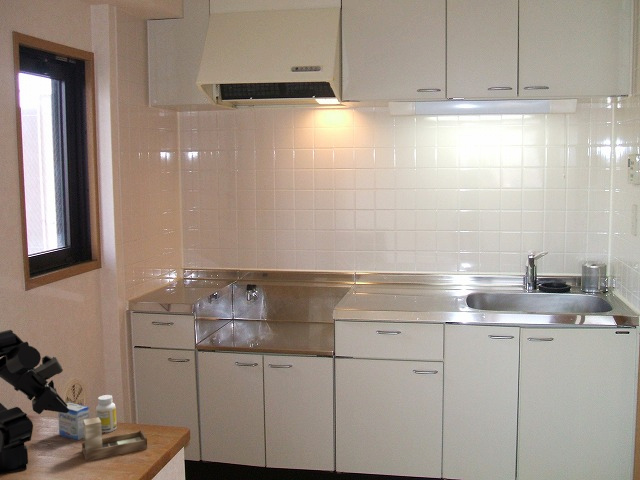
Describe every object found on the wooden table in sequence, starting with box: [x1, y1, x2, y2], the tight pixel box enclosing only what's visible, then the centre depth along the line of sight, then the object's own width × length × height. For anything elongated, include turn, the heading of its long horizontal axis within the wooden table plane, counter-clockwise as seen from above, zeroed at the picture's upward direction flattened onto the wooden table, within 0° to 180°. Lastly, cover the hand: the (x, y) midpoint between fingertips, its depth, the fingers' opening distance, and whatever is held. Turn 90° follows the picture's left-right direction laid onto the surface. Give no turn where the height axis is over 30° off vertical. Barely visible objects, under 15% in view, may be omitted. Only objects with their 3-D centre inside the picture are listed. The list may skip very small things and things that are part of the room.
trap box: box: [81, 428, 148, 462], centre depth 186 cm, size 16×7×3 cm, turn 117°
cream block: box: [83, 416, 103, 451], centre depth 183 cm, size 4×4×8 cm
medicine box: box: [57, 402, 90, 441], centre depth 196 cm, size 8×4×9 cm, turn 62°
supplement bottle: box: [95, 394, 117, 433], centre depth 199 cm, size 5×5×10 cm
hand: (67, 409), depth 179 cm, fingers open, 3 cm apart
